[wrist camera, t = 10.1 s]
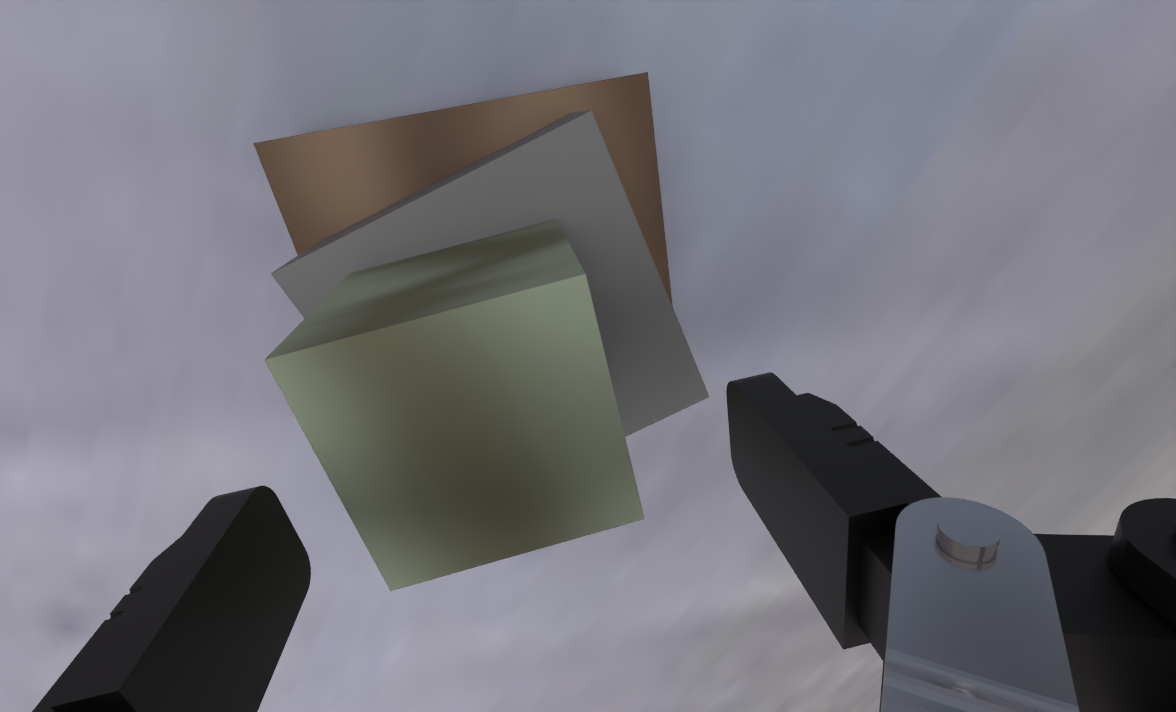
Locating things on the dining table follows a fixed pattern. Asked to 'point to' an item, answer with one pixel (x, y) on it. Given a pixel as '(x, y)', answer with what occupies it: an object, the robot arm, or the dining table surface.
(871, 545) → the robot arm
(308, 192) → the bottom slab
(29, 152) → the dining table surface
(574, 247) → the top slab
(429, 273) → the green cube
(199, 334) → the dining table surface
